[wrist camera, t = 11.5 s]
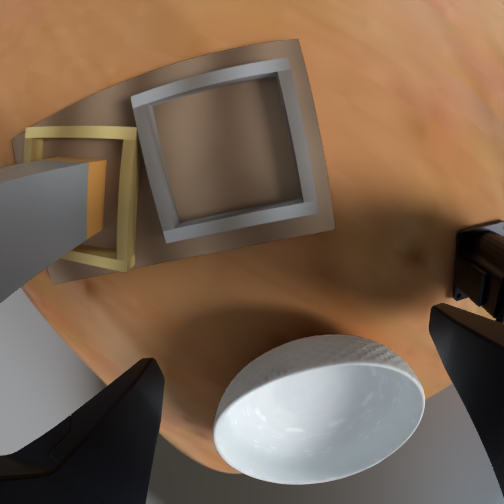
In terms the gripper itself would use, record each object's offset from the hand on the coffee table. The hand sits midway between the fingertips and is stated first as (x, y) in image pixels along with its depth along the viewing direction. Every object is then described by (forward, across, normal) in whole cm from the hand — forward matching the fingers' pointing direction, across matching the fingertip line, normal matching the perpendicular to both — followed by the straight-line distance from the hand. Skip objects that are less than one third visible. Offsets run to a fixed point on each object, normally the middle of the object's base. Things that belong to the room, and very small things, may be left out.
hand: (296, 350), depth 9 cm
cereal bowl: (+13, -1, +15) cm, 20 cm away
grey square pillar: (+12, +13, -6) cm, 19 cm away
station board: (+13, +8, -6) cm, 16 cm away
